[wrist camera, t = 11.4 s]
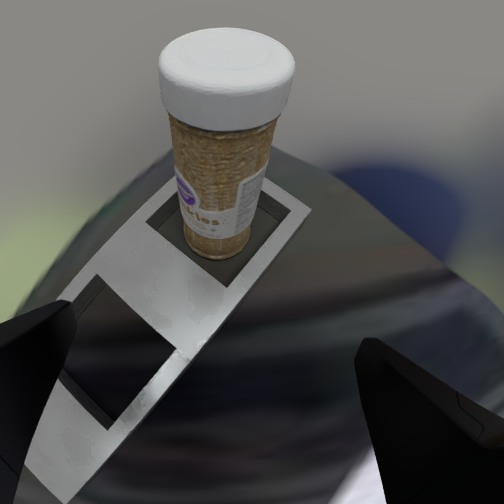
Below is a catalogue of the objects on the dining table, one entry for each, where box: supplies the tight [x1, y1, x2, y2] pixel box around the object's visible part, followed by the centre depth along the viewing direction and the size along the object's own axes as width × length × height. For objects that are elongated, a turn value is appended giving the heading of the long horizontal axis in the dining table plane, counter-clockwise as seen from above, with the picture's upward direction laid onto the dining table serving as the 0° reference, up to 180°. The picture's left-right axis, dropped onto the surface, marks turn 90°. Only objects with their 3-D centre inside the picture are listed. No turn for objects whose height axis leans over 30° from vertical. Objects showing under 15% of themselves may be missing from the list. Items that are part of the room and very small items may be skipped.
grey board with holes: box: [24, 175, 311, 504], centre depth 16 cm, size 26×9×2 cm, turn 143°
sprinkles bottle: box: [158, 28, 295, 260], centre depth 14 cm, size 5×5×13 cm
